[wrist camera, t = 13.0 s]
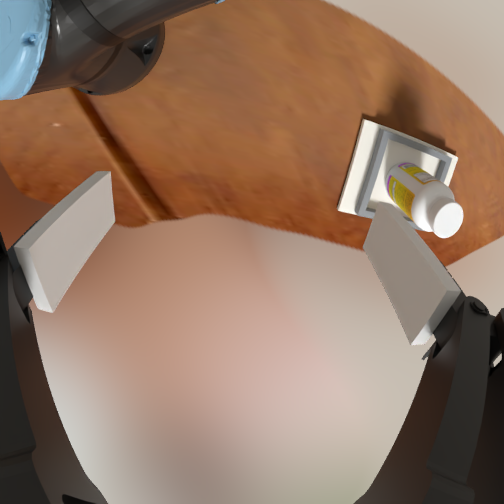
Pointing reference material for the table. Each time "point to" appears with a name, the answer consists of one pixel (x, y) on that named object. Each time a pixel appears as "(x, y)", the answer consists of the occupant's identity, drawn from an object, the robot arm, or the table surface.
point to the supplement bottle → (424, 199)
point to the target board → (387, 167)
